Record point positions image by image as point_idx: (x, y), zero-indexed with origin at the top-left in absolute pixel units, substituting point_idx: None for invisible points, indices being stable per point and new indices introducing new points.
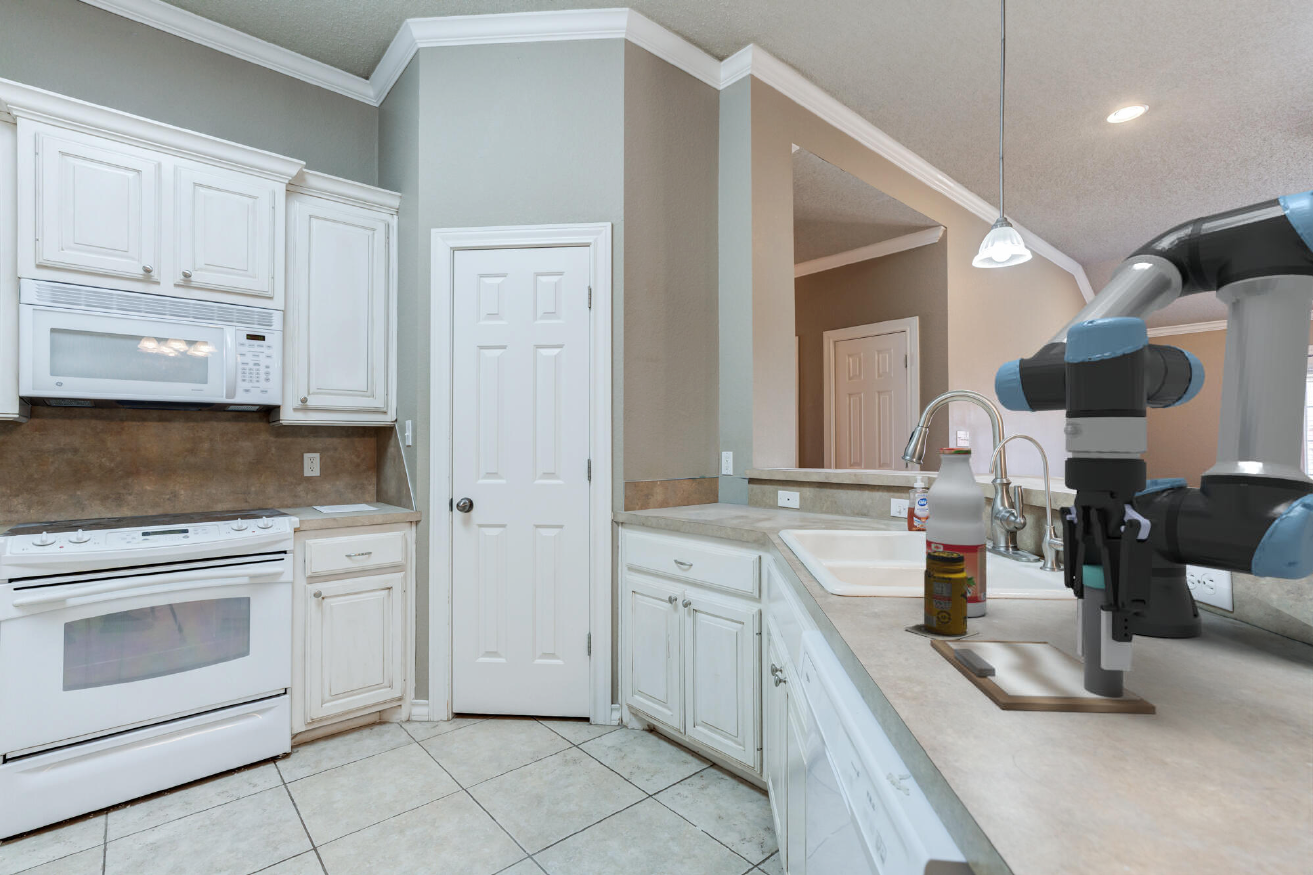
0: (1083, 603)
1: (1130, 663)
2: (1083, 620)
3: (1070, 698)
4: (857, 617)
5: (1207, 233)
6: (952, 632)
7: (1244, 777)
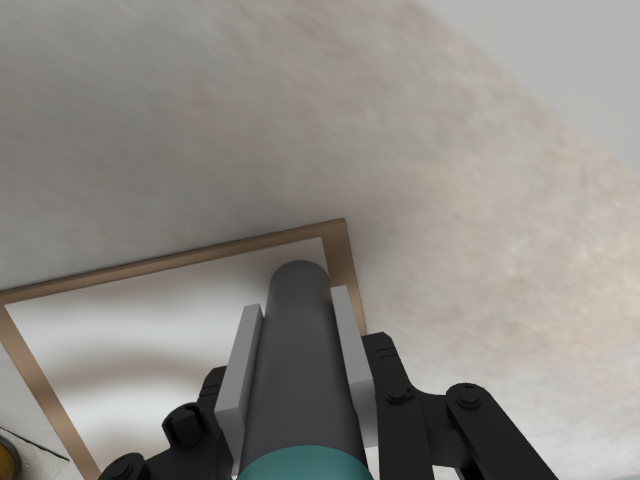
0: None
1: (346, 292)
2: None
3: None
4: None
5: None
6: (8, 458)
7: (555, 195)
